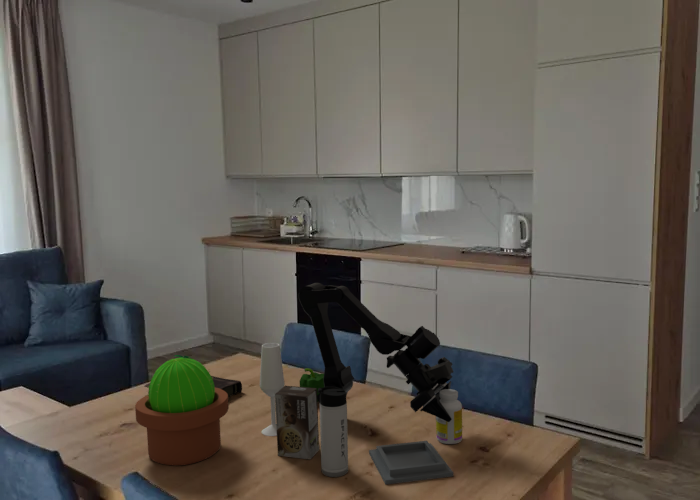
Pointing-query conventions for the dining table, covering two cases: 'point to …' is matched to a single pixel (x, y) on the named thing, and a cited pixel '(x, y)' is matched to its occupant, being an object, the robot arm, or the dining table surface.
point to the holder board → (409, 462)
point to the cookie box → (297, 422)
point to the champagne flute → (271, 379)
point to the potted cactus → (182, 413)
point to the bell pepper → (312, 380)
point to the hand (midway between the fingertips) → (454, 416)
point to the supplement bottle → (452, 429)
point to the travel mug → (333, 431)
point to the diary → (225, 385)
